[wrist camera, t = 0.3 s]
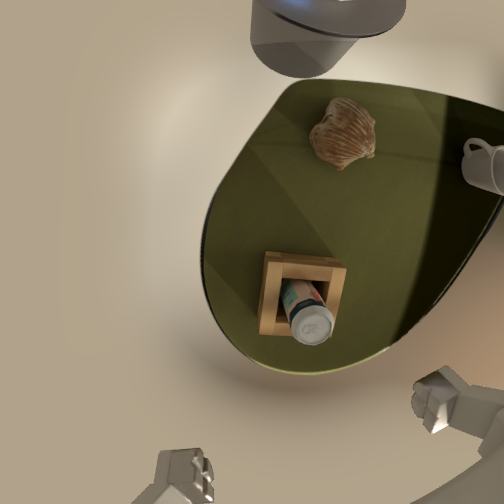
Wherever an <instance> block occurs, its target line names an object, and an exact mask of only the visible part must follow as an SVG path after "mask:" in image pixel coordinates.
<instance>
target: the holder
mask: <svg viewBox="0 0 504 504" xmlns="http://www.w3.org/2000/svg"><path fill="white" fill-rule="evenodd" d="M345 274H346V268H345V267H344V266H343V265H342V264H341V263H340V262H339V261H338V260H337V259H336V258H332V257H322V256H313V255H302V254H292V253H282V252H272V251H265V258H264V266H263V274H262V282H261V290H260V298H259V305H258V313H257V321H258V331H259V334H265V335H282V336H293V334H292V332H291V328H290V325H289V322H288V318H287V315H286V312H285V308H284V307H278V301H279V294H280V288H281V281H282V278H293V279H305V280H318V287H317V292H318V293H319V295H320V296H321V298H322V300H323V301H324V303H325V305H326V306H327V308H328V309H329V311H330V312H331V313H332V316H333V319H334V323H335V319H336V315H337V311H338V306H339V302H340V298H341V293H342V289H343V284H344V279H345ZM333 327H334V326H333ZM332 331H333V329H332ZM331 335H332V333H331V334H330V335H329V337H331Z"/></svg>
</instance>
